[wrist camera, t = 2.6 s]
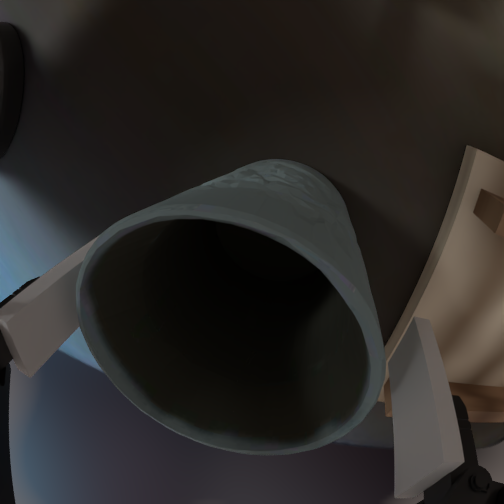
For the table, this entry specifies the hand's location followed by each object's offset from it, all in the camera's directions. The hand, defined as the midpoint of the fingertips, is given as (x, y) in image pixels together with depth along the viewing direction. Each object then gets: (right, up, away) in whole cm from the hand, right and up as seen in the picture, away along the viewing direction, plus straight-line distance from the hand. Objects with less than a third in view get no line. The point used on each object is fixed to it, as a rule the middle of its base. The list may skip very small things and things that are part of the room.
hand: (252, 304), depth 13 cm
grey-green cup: (+1, +4, +7) cm, 8 cm away
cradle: (+20, -3, +5) cm, 21 cm away
